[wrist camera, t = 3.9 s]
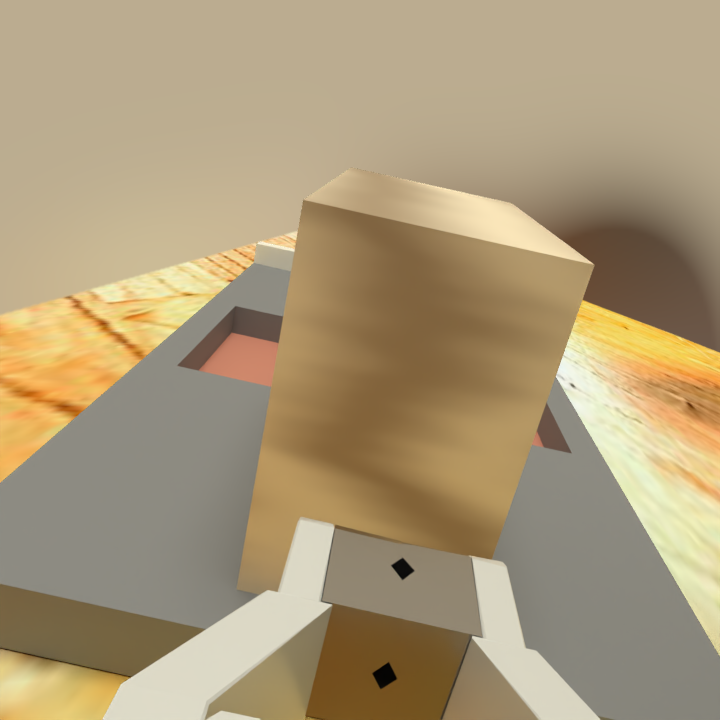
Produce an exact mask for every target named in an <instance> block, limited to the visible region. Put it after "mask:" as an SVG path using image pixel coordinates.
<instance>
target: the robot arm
mask: <svg viewBox="0 0 720 720" xmlns="http://www.w3.org/2000/svg"><path fill="white" fill-rule="evenodd" d="M305 716H309V717H314V718H319V719H324V720H600V718H599V717H598V716H597V715H596V714H595V713H594V712H593V711H592V710H591V709H590V708H589V707H588V706H587V704H586V703H585V702H584V701H583V700H582V699H581V698H580V697H579V696H578V695H577V694H576V693H575V692H574V690H573V689H572V688H571V687H570V686H569V685H568V684H567V683H566V682H565V681H564V680H563V679H562V678H561V677H560V675H559V674H558V673H557V672H556V671H555V670H554V669H553V668H552V667H551V666H550V665H549V664H548V663H547V661H546V660H545V659H544V658H543V657H542V656H541V655H540V654H539V653H538V652H537V651H536V650H531V649H527V648H526V647H525V642H524V638H523V634H522V630H521V625H520V621H519V617H518V612H517V608H516V604H515V600H514V595H513V591H512V587H511V583H510V578H509V574H508V570H507V566H506V565H505V564H504V563H503V562H501V561H496V560H490V559H485V558H480V557H475V556H470V555H469V556H465V555H461V554H456V553H451V552H446V551H442V550H437V549H432V548H428V547H423V546H418V545H414V544H409V543H404V542H402V541H399V540H395V539H391V538H387V537H383V536H379V535H375V534H371V533H367V532H363V531H359V530H355V529H351V528H347V527H343V526H339V525H335V528H334V525H333V524H331V523H327V522H322V521H318V520H313V519H309V518H304V517H300V519H299V521H298V523H297V526H296V530H295V533H294V537H293V540H292V544H291V547H290V551H289V554H288V558H287V561H286V565H285V568H284V572H283V575H282V579H281V582H280V586H279V589H278V592H275V591H270V590H266V591H265V592H263V593H262V594H260V595H259V596H257V597H256V598H254V599H252V600H251V601H249V602H248V603H246V604H245V605H243V606H242V607H240V608H238V609H237V610H235V611H234V612H232V613H231V614H229V615H228V616H226V617H224V618H223V619H221V620H220V621H218V622H217V623H215V624H214V625H212V626H210V627H209V628H207V629H206V630H204V631H203V632H201V633H200V634H198V635H196V636H195V637H193V638H192V639H190V640H189V641H187V642H186V643H184V644H182V645H181V646H179V647H178V648H176V649H175V650H173V651H172V652H170V653H168V654H167V655H165V656H164V657H162V658H161V659H159V660H158V661H156V662H154V663H153V664H151V665H150V666H148V667H147V668H145V669H144V670H142V671H140V672H139V673H137V674H136V675H134V676H133V677H131V678H130V679H128V680H126V681H125V682H123V683H122V684H121V685H120V687H119V689H118V691H117V693H116V695H115V697H114V699H113V700H112V702H111V704H110V706H109V708H108V710H107V712H106V714H105V716H104V717H103V719H102V720H304V719H305Z"/></svg>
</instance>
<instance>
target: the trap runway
mask: <svg viewBox="0 0 720 720" xmlns="http://www.w3.org/2000/svg"><path fill="white" fill-rule="evenodd" d="M294 251H295V249H292V248H287V247H283V246H278V245H274V244H269V243H265V242H260V241H259V242H258V243H257V245H256V252H255V258H254V263H253V264H252V265H251V266H250V267H249V268H247V269H246V270H245V271H244V272H243V273H242V274H241V275H239V276H238V277H237V278H236V279H235V280H234V281H232V282H231V283H230V284H229V285H228V286H227V287H226V288H224V289H223V290H222V291H221V292H220V293H219V294H217V295H216V296H215V297H214V298H213V299H212V300H211V301H209V302H208V303H207V304H206V305H205V306H204V307H203V308H201V309H200V310H199V311H198V312H197V313H196V314H194V315H193V316H192V317H191V318H190V319H189V320H188V321H186V322H185V323H184V324H183V325H182V326H181V327H179V328H178V329H177V330H176V331H175V332H174V333H173V334H171V335H170V336H169V337H168V338H167V339H166V340H164V341H163V342H162V343H161V344H160V345H159V346H158V347H156V348H155V349H154V350H153V351H152V352H151V353H149V354H148V355H147V356H146V357H145V358H144V359H143V360H141V361H140V362H139V363H138V364H137V365H136V366H135V367H133V368H132V369H131V370H130V371H129V372H128V373H126V374H125V375H124V376H123V377H122V378H121V379H120V380H118V381H117V382H116V383H115V384H114V385H113V386H111V387H110V388H109V389H108V390H107V391H106V392H105V393H103V394H102V395H101V396H100V397H99V398H98V399H96V400H95V401H94V402H93V403H92V404H91V405H90V406H88V407H87V408H86V409H85V410H84V411H83V412H81V413H80V414H79V415H78V416H77V417H76V418H75V419H73V420H72V421H71V422H70V423H69V424H68V425H66V426H65V427H64V428H63V429H62V430H61V431H60V432H58V433H57V434H56V435H55V436H54V437H53V438H52V439H50V440H49V441H48V442H47V443H46V444H45V445H43V446H42V447H41V448H40V449H39V450H38V451H37V452H35V453H34V454H33V455H32V456H31V457H30V458H28V459H27V460H26V461H25V462H24V463H23V464H22V465H20V466H19V467H18V468H17V469H16V470H15V471H13V472H12V473H11V474H10V475H9V476H8V477H7V478H5V479H4V480H3V481H2V482H1V483H0V648H4V649H9V650H14V651H18V652H23V653H27V654H32V655H36V656H41V657H45V658H50V659H54V660H59V661H63V662H68V663H72V664H77V665H81V666H86V667H91V668H95V669H100V670H104V671H109V672H113V673H118V674H122V675H127V676H131V677H133V676H134V675H136V674H137V673H139V672H140V671H142V670H144V669H145V668H147V667H148V666H150V665H151V664H153V663H154V662H156V661H158V660H159V659H161V658H162V657H164V656H165V655H167V654H168V653H170V652H172V651H173V650H175V649H176V648H178V647H179V646H181V645H182V644H184V643H186V642H187V641H189V640H190V639H192V638H193V637H195V636H196V635H198V634H200V633H201V632H203V631H204V630H206V629H207V628H209V627H210V626H212V625H214V624H215V623H217V622H218V621H220V620H221V619H223V618H224V617H226V616H228V615H229V614H231V613H232V612H234V611H235V610H237V609H238V608H240V607H242V606H243V605H245V604H246V603H248V602H249V601H251V600H252V599H254V598H256V597H257V596H259V594H255V593H250V592H246V591H241V590H237V583H238V577H239V571H240V566H241V560H242V554H243V548H244V542H245V537H246V531H247V525H248V519H249V513H250V507H251V502H252V496H253V490H254V484H255V478H256V472H257V467H258V461H259V455H260V449H261V443H262V438H263V432H264V426H265V420H266V414H267V408H268V403H269V397H270V391H271V385H272V379H273V373H274V368H275V362H276V356H277V350H278V344H279V339H280V333H281V327H282V321H283V315H284V309H285V304H286V298H287V292H288V286H289V280H290V274H291V269H292V263H293V257H294ZM492 560H496V561H501V562H503V563H504V564H505V565H506V566H507V570H508V574H509V578H510V583H511V587H512V591H513V595H514V600H515V604H516V608H517V612H518V617H519V621H520V625H521V630H522V634H523V638H524V642H525V647H526V648H527V649H531V650H536V651H537V652H538V653H539V654H540V655H541V656H542V657H543V658H544V659H545V660H546V661H547V663H548V664H549V665H550V666H551V667H552V668H553V669H554V670H555V671H556V672H557V673H558V674H559V675H560V677H561V678H562V679H563V680H564V681H565V682H566V683H567V684H568V685H569V686H570V687H571V688H572V689H573V690H574V692H575V693H576V694H577V695H578V696H579V697H580V698H581V699H582V700H583V701H584V702H585V703H586V704H587V706H588V707H589V708H590V709H591V710H592V711H593V712H594V713H595V714H596V715H597V716H598V717H599V718H600V720H720V656H719V655H718V653H717V651H716V650H715V648H714V646H713V645H712V643H711V641H710V639H709V638H708V636H707V634H706V633H705V631H704V629H703V627H702V626H701V624H700V622H699V621H698V619H697V617H696V616H695V614H694V612H693V610H692V609H691V607H690V605H689V604H688V602H687V600H686V598H685V597H684V595H683V593H682V592H681V590H680V588H679V586H678V585H677V583H676V581H675V580H674V578H673V576H672V575H671V573H670V571H669V569H668V568H667V566H666V564H665V563H664V561H663V559H662V557H661V556H660V554H659V552H658V551H657V549H656V547H655V546H654V544H653V542H652V540H651V539H650V537H649V535H648V534H647V532H646V530H645V528H644V527H643V525H642V523H641V522H640V520H639V518H638V516H637V515H636V513H635V511H634V510H633V508H632V506H631V505H630V503H629V501H628V499H627V498H626V496H625V494H624V493H623V491H622V489H621V487H620V486H619V484H618V482H617V481H616V479H615V477H614V476H613V474H612V472H611V470H610V469H609V467H608V465H607V464H606V462H605V460H604V458H603V457H602V455H601V453H600V452H599V450H598V448H597V446H596V445H595V443H594V441H593V440H592V438H591V436H590V435H589V433H588V431H587V429H586V428H585V426H584V424H583V423H582V421H581V419H580V417H579V416H578V414H577V412H576V411H575V409H574V407H573V406H572V404H571V402H570V400H569V399H568V397H567V395H566V394H565V392H564V390H563V388H562V387H561V385H560V383H559V382H558V380H557V378H556V377H555V379H554V382H553V385H552V388H551V391H550V394H549V397H548V400H547V402H546V405H545V408H544V411H543V414H542V417H541V420H540V423H539V425H538V428H537V431H536V434H535V437H534V440H533V443H532V445H531V448H530V451H529V454H528V457H527V460H526V463H525V466H524V468H523V471H522V474H521V477H520V480H519V483H518V486H517V489H516V491H515V494H514V497H513V500H512V503H511V506H510V509H509V511H508V514H507V517H506V520H505V523H504V526H503V529H502V532H501V534H500V537H499V540H498V543H497V546H496V549H495V552H494V555H493V557H492Z"/></svg>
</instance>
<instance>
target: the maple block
mask: <svg viewBox="0 0 720 720" xmlns="http://www.w3.org/2000/svg"><path fill="white" fill-rule="evenodd" d="M593 267H594V264H592V263H591V262H590V261H589V260H587V259H586V258H585V257H583V256H582V255H581V254H579V253H578V252H576V251H575V250H574V249H572V248H571V247H570V246H568V245H567V244H566V243H564V242H563V241H562V240H560V239H559V238H558V237H556V236H555V235H554V234H552V233H551V232H550V231H548V230H547V229H545V228H544V227H543V226H541V225H540V224H539V223H537V222H536V221H535V220H533V219H532V218H531V217H529V216H528V215H527V214H525V213H524V212H523V211H521V210H520V209H518V208H517V207H516V206H515V205H513V204H512V203H508V202H504V201H499V200H495V199H490V198H486V197H481V196H477V195H472V194H467V193H463V192H459V191H454V190H449V189H445V188H441V187H436V186H432V185H428V184H423V183H419V182H414V181H410V180H405V179H400V178H396V177H392V176H387V175H382V174H378V173H374V172H369V171H364V170H360V169H356V168H350V169H348V170H347V171H345V172H344V173H342V174H341V175H339V176H338V177H337V178H335V179H334V180H332V181H330V182H329V183H328V184H326V185H324V186H323V187H322V188H320V189H319V190H317V191H316V192H314V193H313V194H311V195H310V196H308V197H307V198H305V199H304V200H303V205H302V210H301V216H300V222H299V228H298V234H297V240H296V245H295V251H294V257H293V263H292V269H291V274H290V280H289V286H288V292H287V298H286V304H285V309H284V315H283V321H282V327H281V333H280V339H279V344H278V350H277V356H276V362H275V368H274V373H273V379H272V385H271V391H270V397H269V403H268V408H267V414H266V420H265V426H264V432H263V438H262V443H261V449H260V455H259V461H258V467H257V472H256V478H255V484H254V490H253V496H252V502H251V507H250V513H249V519H248V525H247V531H246V537H245V542H244V548H243V554H242V560H241V566H240V571H239V577H238V583H237V590H241V591H246V592H250V593H255V594H259V595H260V594H262V593H263V592H265V591H266V590H270V591H275V592H278V589H279V586H280V582H281V579H282V575H283V572H284V568H285V565H286V561H287V558H288V554H289V551H290V547H291V544H292V540H293V537H294V533H295V530H296V526H297V523H298V521H299V519H300V517H304V518H309V519H313V520H318V521H322V522H327V523H331V524H333V525H334V528H335V525H339V526H343V527H347V528H351V529H355V530H359V531H363V532H367V533H371V534H375V535H379V536H383V537H387V538H391V539H395V540H399V541H402V542H404V543H409V544H414V545H418V546H423V547H428V548H432V549H437V550H442V551H446V552H451V553H456V554H461V555H465V556H469V555H470V556H475V557H480V558H485V559H490V560H492V557H493V555H494V552H495V549H496V546H497V543H498V540H499V537H500V534H501V532H502V529H503V526H504V523H505V520H506V517H507V514H508V511H509V509H510V506H511V503H512V500H513V497H514V494H515V491H516V489H517V486H518V483H519V480H520V477H521V474H522V471H523V468H524V466H525V463H526V460H527V457H528V454H529V451H530V448H531V445H532V443H533V440H534V437H535V434H536V431H537V428H538V425H539V423H540V420H541V417H542V414H543V411H544V408H545V405H546V402H547V400H548V397H549V394H550V391H551V388H552V385H553V382H554V379H555V377H556V374H557V371H558V368H559V365H560V362H561V359H562V356H563V354H564V351H565V348H566V345H567V342H568V339H569V336H570V334H571V331H572V328H573V325H574V322H575V319H576V316H577V313H578V311H579V308H580V305H581V302H582V299H583V296H584V293H585V290H586V288H587V285H588V282H589V279H590V276H591V273H592V270H593Z"/></svg>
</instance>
